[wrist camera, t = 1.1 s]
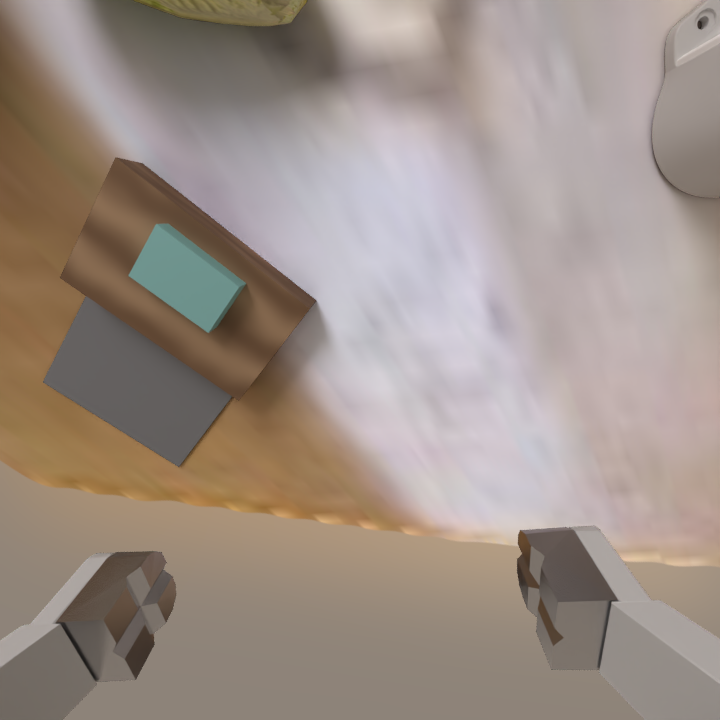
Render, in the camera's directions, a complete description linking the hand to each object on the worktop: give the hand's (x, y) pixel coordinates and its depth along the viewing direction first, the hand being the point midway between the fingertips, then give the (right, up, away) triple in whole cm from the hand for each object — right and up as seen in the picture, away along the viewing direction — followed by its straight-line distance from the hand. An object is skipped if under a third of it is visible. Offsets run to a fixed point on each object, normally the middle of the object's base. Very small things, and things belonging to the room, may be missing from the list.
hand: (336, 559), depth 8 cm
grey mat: (-27, +1, +38) cm, 47 cm away
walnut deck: (-17, +13, +33) cm, 39 cm away
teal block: (-16, +13, +28) cm, 35 cm away
